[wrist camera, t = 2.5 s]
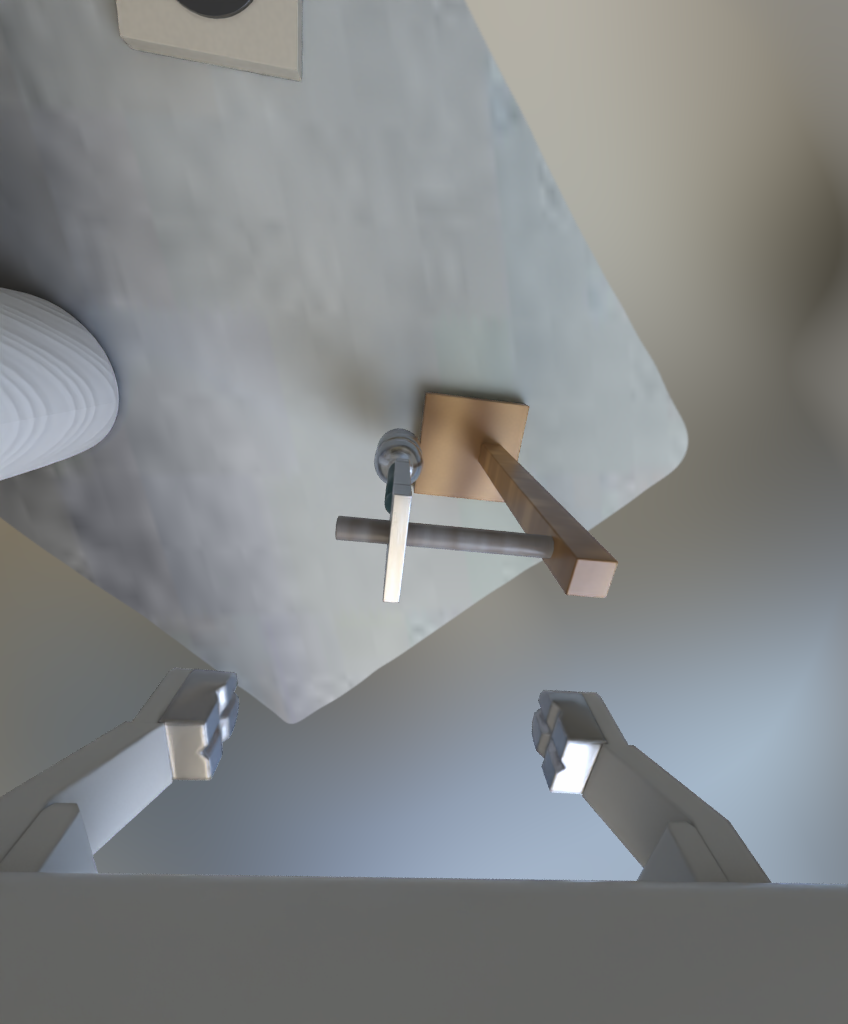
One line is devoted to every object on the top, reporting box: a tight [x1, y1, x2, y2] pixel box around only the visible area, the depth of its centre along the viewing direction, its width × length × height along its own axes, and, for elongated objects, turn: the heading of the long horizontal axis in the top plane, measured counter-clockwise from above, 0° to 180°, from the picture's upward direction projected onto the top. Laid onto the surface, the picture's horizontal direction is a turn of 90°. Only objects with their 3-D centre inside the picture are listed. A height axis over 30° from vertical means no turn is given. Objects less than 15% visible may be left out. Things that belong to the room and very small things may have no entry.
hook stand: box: [335, 392, 618, 598], centre depth 30 cm, size 15×10×25 cm, turn 83°
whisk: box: [374, 428, 424, 603], centre depth 28 cm, size 4×6×21 cm
